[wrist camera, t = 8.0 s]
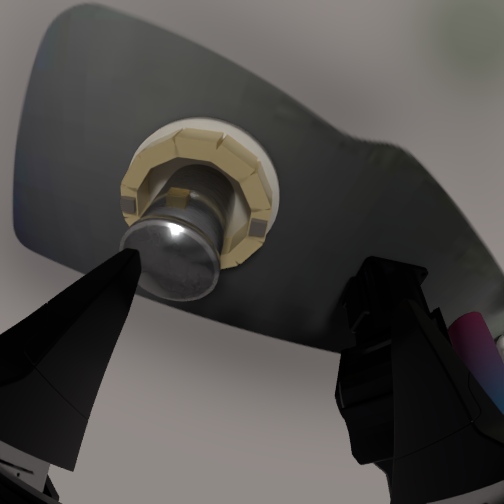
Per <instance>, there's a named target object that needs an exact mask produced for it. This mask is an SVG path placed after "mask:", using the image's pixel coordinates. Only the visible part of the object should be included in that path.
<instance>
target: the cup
mask: <svg viewBox="0 0 504 504" xmlns="http://www.w3.org/2000/svg"><path fill="white" fill-rule="evenodd" d="M448 332H449V335H450V338H451V341H452V345H453V348H454V350H455V351H456V352H457V354H458V355H459V356H460V358H461V359H462V360H463V362H464V363H465V364H466V366H467V367H468V369H469V370H470V371H471V373H472V374H473V375H474V377H475V378H476V380H477V381H478V382H479V384H480V385H481V386H482V388H483V389H484V390H485V392H486V393H487V394H488V395H489V397H490V398H491V399H492V401H493V402H494V403H495V404H496V406H497V407H498V408H499V410H500V411H501V412H502V413H503V415H504V363H503V361H502V358H501V356H500V353H499V351H498V349H497V347H496V344H495V342H494V340H493V338H492V336H491V333H490V331H489V329H488V327H487V325H486V323H485V321H484V319H483V317H482V315H481V314H480V313H479V312H471V313H468V314H465V315H463V316H462V317H460V318H458V319H457V320H456V321H455V322H454V323H453V324H452V325H451V326H450V328H449V331H448Z"/></svg>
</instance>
